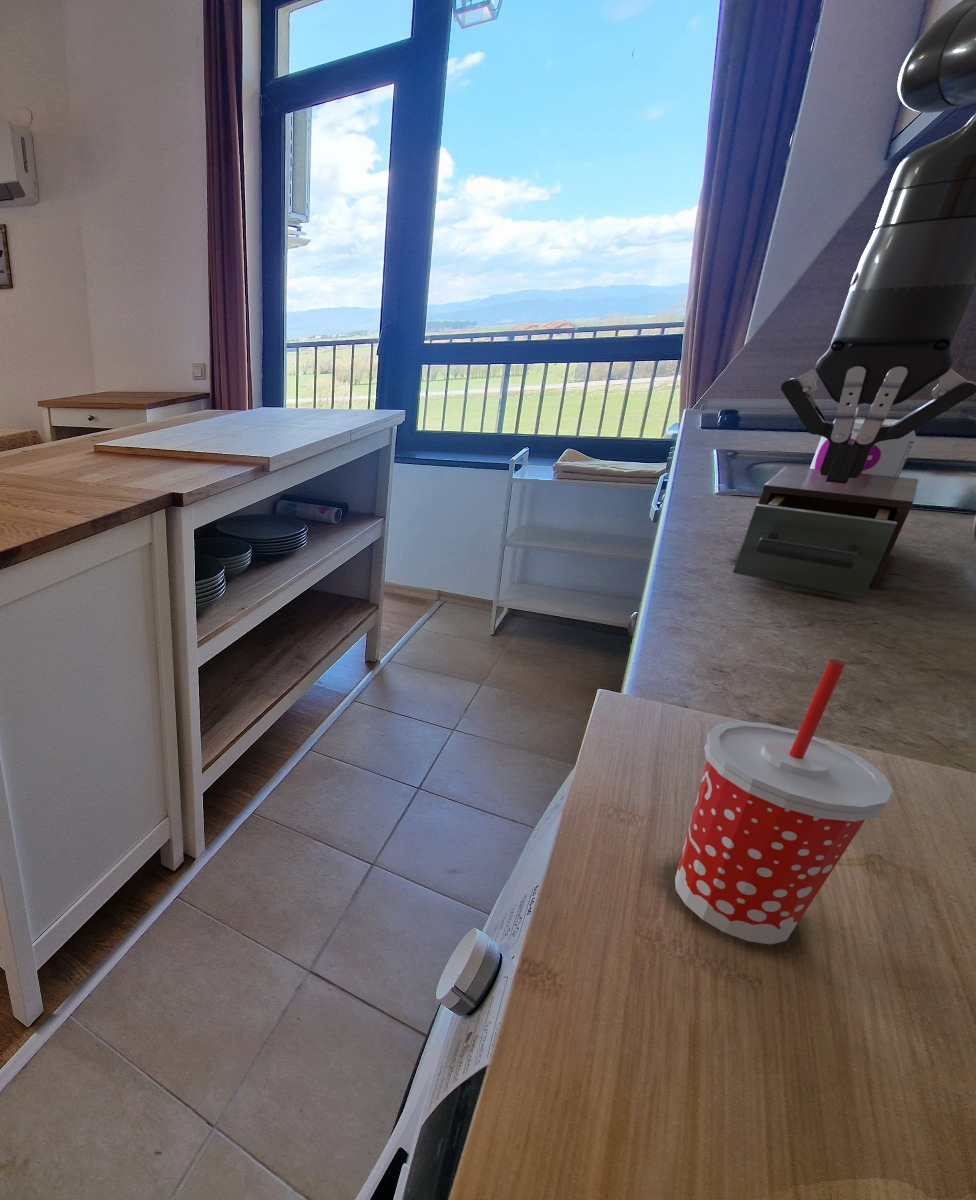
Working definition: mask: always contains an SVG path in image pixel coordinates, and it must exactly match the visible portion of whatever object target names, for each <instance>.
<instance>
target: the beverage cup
mask: <svg viewBox="0 0 976 1200" xmlns="http://www.w3.org/2000/svg"><path fill="white" fill-rule="evenodd" d="M845 666H846V662H844V661H843V660H840V659H836V658H830V659H829V660H828V663H827V664H826V667H825V670H824V672H823V674H822V677H821V679H820V681H819V683H818V686H817V687H816V690H815V693H814V695H813V697H812V700H811V701H810V704H809V707H808V709H807V711H806V713H805V716H804V718H803V720H802V723H801V725H800V727H799V729H798V730H797V729H792V728H788V727H784V726H780V725H775V724H772V723H771V724H770V723H766V722H753V721H742V720H741V721H739V720H738V721H737V720H736V721H730V722H725V723H719V724H718V723H717V725H715V726H714V727H713V728H712V729H711V730H710V731H708V733H707V735H706V743H705V745H704V746H703V748H704V749H703V750H704V754H705V759H706V760H705V761H706V763H705V766H704V771H703V774H702V779H701V782H700V785H699V789H698V792H697V795H696V796H697V797H696V800H695V803H694V807H693V811H692V815H691V818H690V822H689V826H688V829H687V832H686V837H685V841H684V845H683V848H682V851H681V855H680V859H679V863H678V865H677V866H678V867H677V870H676V874H675V877H674V883H675V884H674V885H675V891H676V893H677V894H678V896H679V897H680V899H681V900H682V902H683V903H684V905H685V906H686V907H688V908H689V909H690V910H691V911H692V912H693V913H694V914H695V915H696V916H698V917H699V918H700V919H701V920H702V921H704V922H705V923H707V924H710V925H711V926H713V927H714V928H715V929H718V930H720V931H721V932H723V933H725V934H727V935H729V936H733V937H736V938H738V939H741V940H743V941H746V942H751V943H758V944H766V945H774V944H778V943H782V942H786V941H788V939H789V937H790V936H791V934H792V933H793V931H794V930H795V928H796V927H797V925H798V924H799V922H800V920H801V919H802V917H804V914H805V913H806V911H807V910H808V909H809V906H810V905H811V904H812V902H813V901H814V899H815V898H816V897H817V894H818V893H819V891H820V890H821V888H822V887H823V885H824V884H825V882H826V881H827V879H828V878H829V876H830V875H831V873H832V871H834V869H835V866H836V865H837V864H838V863H839V861H840V860H841V858H842V856H843V855H844V853H845V852H846V850H848V849H847V848H848V847H849V846H850V844H851V842H852V841H853V839H854V838H855V836H856V835H857V833H858V832H859V831H860V829H861V827H862V826H863V824H864V823H865V821H866V820H870V819H874V818H878V817H879V815H880V814H881V812H882V810H883V809H884V808H885V806H886V804H887V803H888V802H889V800H890V798H891V797H892V795H893V793H894V790H893V787H892V785H891V784H890V782H889V780H888V778H887V777H886V775H885V774H884V773H883V772H881V771H880V770H878V769H877V768H876V767H875V766H873V765H872V764H871V763H870V762H869V761H867V760H866V759H864V758H863V757H861V756H860V755H857V754H855V753H853V752H851V751H849V750H847V749H845V748H844V747H842V746H840V745H837V744H836V743H834V742H832V741H828V740H827V739H823V738H821V737H817V736H815V733H816V731H817V728H818V727H819V723H820V721H821V719H822V718H823V715H824V712H825V710H826V708H827V706H828V704H829V702H830V699H831V697H832V695H833V692H834V690H835V688H836V687H837V686H836V685H837V684H838V681H839V680H840V676H841V674H842V672H843V670H844V668H845Z"/></svg>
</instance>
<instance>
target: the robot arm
mask: <svg viewBox="0 0 976 1200" xmlns="http://www.w3.org/2000/svg"><path fill="white" fill-rule="evenodd" d="M897 93H898V96H899V100H900V101H901V102H902V104H903V105H904V106H905V107H907V108H908V109H910V110H912V111H913V112H914V111H915V112H917V113H926V114H930V113H940V112H947V111H950V110H954V109H958V108H962V107H966V106H970V105H973V104H976V0H961V1H959V2H958V3H957V4H955V5H954V6H952V7H951V8H949V10H947V11H946V12H945V13H943V14H942V15H941V16H940V17H939V18H937V19H936V20H935V21H934V22H933V23H932V24H931V25H930V26H929V27H928V28H926V30H925V31H924V32H923V34H922V35H921V36H920V37H919V38H918V39H917V41H916V42H915V43H914V45H912V47H911V50H910V51H909V52H908V54H907V55H906V58H905V60H904V62H903V63H902V66H901V68H900V71H899V74H898V78H897ZM875 224H876V225H875V227H874V228H875V229H874V230H873V233H872V235H871V237H870V239H869V241H868V243H867V245H866V247H865V249H864V251H863V253H862V255H861V257H860V260H859V262H858V265H857V268H856V270H855V272H854V273H853V275H852V277H851V280H850V288H849V290H848V293H847V296H846V299H845V302H844V305H843V308H842V311H841V314H840V317H839V320H838V322H837V325H836V328H835V332H834V333H833V336H832V339H831V342H830V345H829V347H828V349H827V350H826V352H825V353H823V355H822V356H821V357H820V358H819V359H818V360H817V361H816V364H815V368H812V369H810V370H808V371H807V372H805V373H802V374H800V375H799V376H796V377H793V378H788V379H787V380H785V381H784V382H783V383H782V384H781V385H780V390H781V392H782V393H783V395H784V397H785V398H786V399H787V401H788V403H789V404H790V406H791V407H792V409H793V410H794V412H795V413H796V415H797V416H798V418H799V419H800V421H801V422H802V424H803V426H804V427H805V428H806V430H807V432H808V433H809V434H811V435H817V436H820V437H825V438H827V439H828V441H829V447H828V449H827V452H826V455H825V457H824V460H823V463H822V466H821V468H820V473H821V475H826V476H827V479H826V482H834V483H844V484H846V483H847V482H848V480H849V478H857V477H858V476H859V475H860V474H861V473H862V471H863V468H864V466H865V463H866V461H867V458H868V456H869V453H870V451H871V448H872V446H873V445H874V444H876V443H877V442H880V441H885V440H891V439H899V438H902V437H904V436H905V435H907V434H909V433H910V432H912V431H916V430H917V429H919V428H920V427H922V426H924V425H925V424H927V423H929V422H930V421H932V420H933V419H936V417H938V416H940V415H942V414H943V413H945V412H947V411H948V410H950V409H952V408H953V407H955V406H957V405H959V404H960V403H962V402H963V401H965V400H966V399H968V398H970V397H971V396H973V395H974V394H975V393H976V382H975V381H972V380H967V379H965V378H964V377H963V376H961V375H960V374H959V373H957V372H956V371H954V370H953V369H952V366H953V365H954V357H953V355H952V351H951V349H952V346H953V343H954V341H955V338H956V336H957V334H958V332H959V329H960V327H961V324H962V322H963V320H964V318H965V315H966V313H967V310H968V307H969V305H970V302H971V300H972V298H973V296H974V293H975V291H976V112H975V113H974V114H973V115H972V117H971V118H970V119H969V120H968V121H967V122H966V123H965V124H964V125H963V126H962V127H961V128H959V129H957V130H956V131H954V132H952V133H951V134H949V135H946V136H945V137H942V138H940V139H938V140H935V141H933V142H931V143H928V144H925V145H923V146H922V147H919V148H917V149H916V150H914V151H911V152H910V153H909V154H907V155H906V156H905V157H904V158H903V159H902V160H901V162H900V163H899V165H898V166H897V168H896V170H895V172H894V174H893V176H892V179H891V182H890V184H889V187H888V190H887V194H886V196H885V198H884V202H883V204H882V207H881V210H880V212H879V216H878V218H877V222H876V223H875ZM818 379H820V381H821V382H822V384H823V386H824V388H825V389H826V391H827V393H828V394H829V396H830V398H831V399H832V400H833V401H834V402H836V403H838V406H837V410H836V414H835V418H834V420H835V423H833V421H829V420H827V417H826V416H825V415H824V413H823V412H822V409H820V408H819V406H818V404H817V403H816V401H815V399H814V398H813V397H812V394H813V393H815V392H816V390H817V389H818V388H817V380H818ZM936 380H938V384H937V385H936V386H935V387H933V389H932V390H931V393H930V396H931V398H932V400H930V401H928V402H927V403H925V404H924V405H922V406H920V407H919V408H917V409H915V410H914V411H912V412H910V413H908V414H907V415H906V416H904V417H902V418H901V419H898V420H899V421H898V422H896V423H894V424H892V425H886V426H882V424H883V422H884V420H885V419H887V416H888V414H889V412H890V411H891V408H892V407H893V406H896V405H898V404H901V403H903V402H905V401H907V400H909V399H910V398H911V397H913V396H914V395H916V394H917V393H919V392H920V391H922V390H923V389H924V388H926V387H927V386H929V385H931V384H932V383H934V382H935V381H936ZM864 404H867V405H871V406H870V408H869V410H868V412H867V414H866V416H865V417H864V418H865V421H864V423H863V425H862V427H861V429H860V431H859V433H858V435H857V437H856V440H855V442H851V441H850V438H851V435H852V430H853V427H854V423H855V419H856V418H857V416H858V413H859V409H860V406H861V405H864ZM851 443H852V444H851ZM836 481H837V482H836Z"/></svg>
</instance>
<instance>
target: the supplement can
mask: <svg viewBox="0 0 976 1200" xmlns="http://www.w3.org/2000/svg"><path fill="white" fill-rule="evenodd" d="M865 418H866V417H856V419H855V423H854V427H853V430H852V435H851V438H850V441H851V442H855V440H856V437H857V435H858V433H859V431H860V429H861V427H862V425H863V423H864V421H865ZM899 420H900V419H893V418H892V419H891V418H885V420H884V422H883V424H882V426H886V425H892V424H894V423H896V422H898V421H899ZM832 423H835V419H834V420H833V421H832ZM915 431H916V430H914V431H912V432H910V433H909V434H907V435H905V436H904V437H902V438H899V439H891V440H885V441H880V442H877V443H876V444H874V445H873V446H872V448H871V451H870V453H869V456H868V458H867V461H866V463H865V466H864V468H863V471H862V473H861V474H871V475H881V476H892V477H900V475H901V473H902V471H903V468H904V466H905V464H906V461H907V460H908V457H909V456H910V453H911V450H912V448H913V446H914V442H915V441H916V438H917V435H916V432H915ZM851 444H852V443H851ZM828 447H829V441H828V439H827V438H825V437H822V436H820V439H819V442H818V445H817V448H816V450H815V453H814V456H813V459H812V461H811V463H810V467H809V469H818V470H820V468H821V466H822V463H823V460H824V457H825V455H826V452H827V449H828Z"/></svg>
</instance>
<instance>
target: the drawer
mask: <svg viewBox="0 0 976 1200" xmlns="http://www.w3.org/2000/svg"><path fill="white" fill-rule="evenodd" d="M890 510H891V507H887V506H878V505H870V504H862V503H853V502H845V501H836V500H828V499H820V498H811V497H803V496H794V495H786V494H778V495H777V496H776V497H775V498H774V499H773V500H772V501H771V502H770V503H769V504H768V505H764V504H758V503H757V504H756V505H755V507H754V510H753V513H752V516H751V519H750V521H749V524H748V527H747V529H746V533H745V535H744V540H743V542H742V544H741V548H740V551H739V554H738V556H737V559H736V562H735V565H734V568H733V570H732V573H733V574H736V575H742V576H747V577H751V578H752V577H753V578H758V579H763V580H768V581H773V582H777V583H784V584H788V585H793V586H798V587H804V588H810V589H815V590H820V591H823V592H829V593H835V594H839V595H840V594H841V595H846V596H850V597H856V598H860V599H865V597H866V595H867V592H868V591H869V588H870V587H869V586H870V584H871V581H872V579H873V577H874V575H875V572H876V570H877V568H878V566H879V563H880V561H881V559H882V557H883V554H884V552H885V550H886V548H887V545H888V543H889V541H890V538H891V536H892V534H893V532H894V529H895V527H896V525H897V522H895V521H888V520H887V519H888V516H889V513H890Z"/></svg>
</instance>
